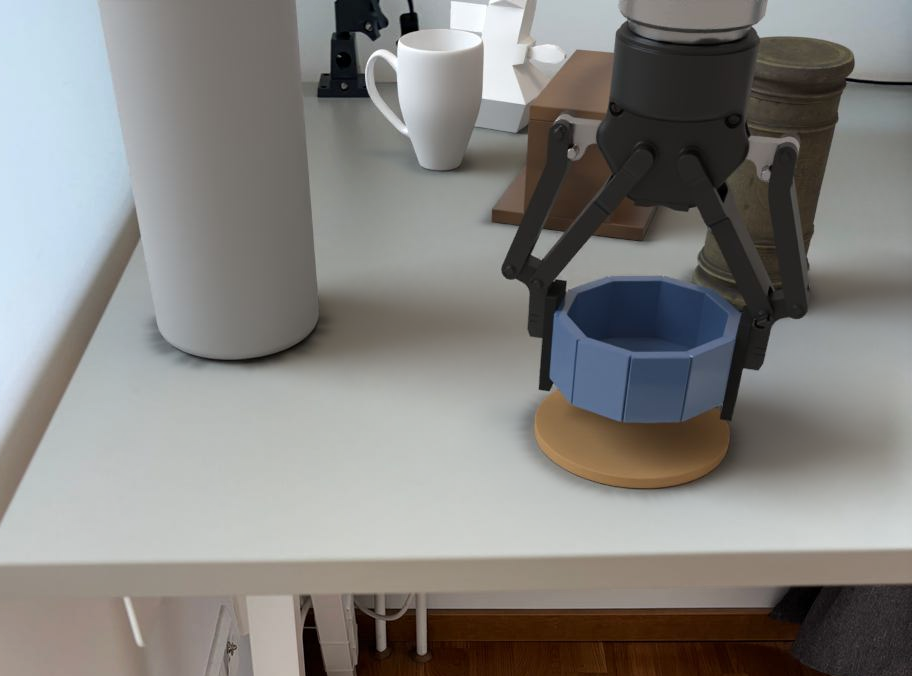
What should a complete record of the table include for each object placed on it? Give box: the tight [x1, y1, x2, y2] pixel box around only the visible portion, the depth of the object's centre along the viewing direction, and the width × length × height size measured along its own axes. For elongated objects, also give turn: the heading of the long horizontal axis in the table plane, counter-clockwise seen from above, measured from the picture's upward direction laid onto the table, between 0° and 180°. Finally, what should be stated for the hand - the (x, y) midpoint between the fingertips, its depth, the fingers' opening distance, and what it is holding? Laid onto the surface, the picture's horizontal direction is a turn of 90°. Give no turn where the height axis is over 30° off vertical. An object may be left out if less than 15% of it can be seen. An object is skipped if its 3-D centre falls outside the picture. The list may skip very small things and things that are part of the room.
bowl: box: [550, 275, 742, 423], centre depth 69 cm, size 11×12×5 cm
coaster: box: [533, 388, 731, 489], centre depth 73 cm, size 13×13×1 cm
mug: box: [364, 28, 484, 171], centre depth 108 cm, size 12×8×11 cm
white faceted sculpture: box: [449, 0, 568, 134], centre depth 117 cm, size 8×14×14 cm, turn 64°
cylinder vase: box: [97, 0, 320, 361], centre depth 77 cm, size 12×12×25 cm
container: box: [691, 35, 856, 312], centre depth 84 cm, size 9×9×18 cm
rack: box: [491, 48, 659, 242], centre depth 102 cm, size 14×18×10 cm
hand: (636, 395), depth 72 cm, fingers closed on bowl, 11 cm apart
